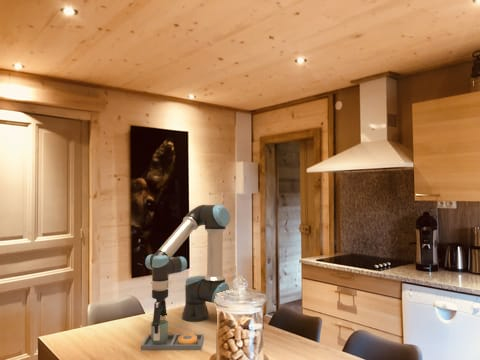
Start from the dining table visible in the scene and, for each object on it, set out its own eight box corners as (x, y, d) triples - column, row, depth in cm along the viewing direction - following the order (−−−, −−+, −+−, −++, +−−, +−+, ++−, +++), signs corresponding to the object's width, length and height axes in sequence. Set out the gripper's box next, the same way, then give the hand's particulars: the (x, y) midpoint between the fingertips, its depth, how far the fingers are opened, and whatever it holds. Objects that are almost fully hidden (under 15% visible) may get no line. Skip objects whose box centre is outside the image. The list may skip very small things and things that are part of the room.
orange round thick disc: (190, 339, 187) (190, 332, 188) (200, 344, 181) (200, 337, 181) (174, 343, 182) (174, 336, 182) (184, 349, 175) (184, 342, 175)
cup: (171, 343, 182) (171, 321, 183) (160, 348, 176) (160, 326, 176) (158, 339, 186) (159, 318, 187) (147, 345, 180) (147, 323, 180)
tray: (203, 339, 188) (203, 334, 188) (200, 351, 174) (200, 345, 174) (148, 339, 188) (148, 334, 188) (140, 351, 174) (140, 345, 174)
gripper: (157, 283, 195) (157, 325, 194) (145, 295, 170) (145, 345, 169) (172, 283, 195) (172, 325, 194) (162, 295, 170) (162, 345, 169)
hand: (159, 334), depth 181 cm, fingers open, 13 cm apart
